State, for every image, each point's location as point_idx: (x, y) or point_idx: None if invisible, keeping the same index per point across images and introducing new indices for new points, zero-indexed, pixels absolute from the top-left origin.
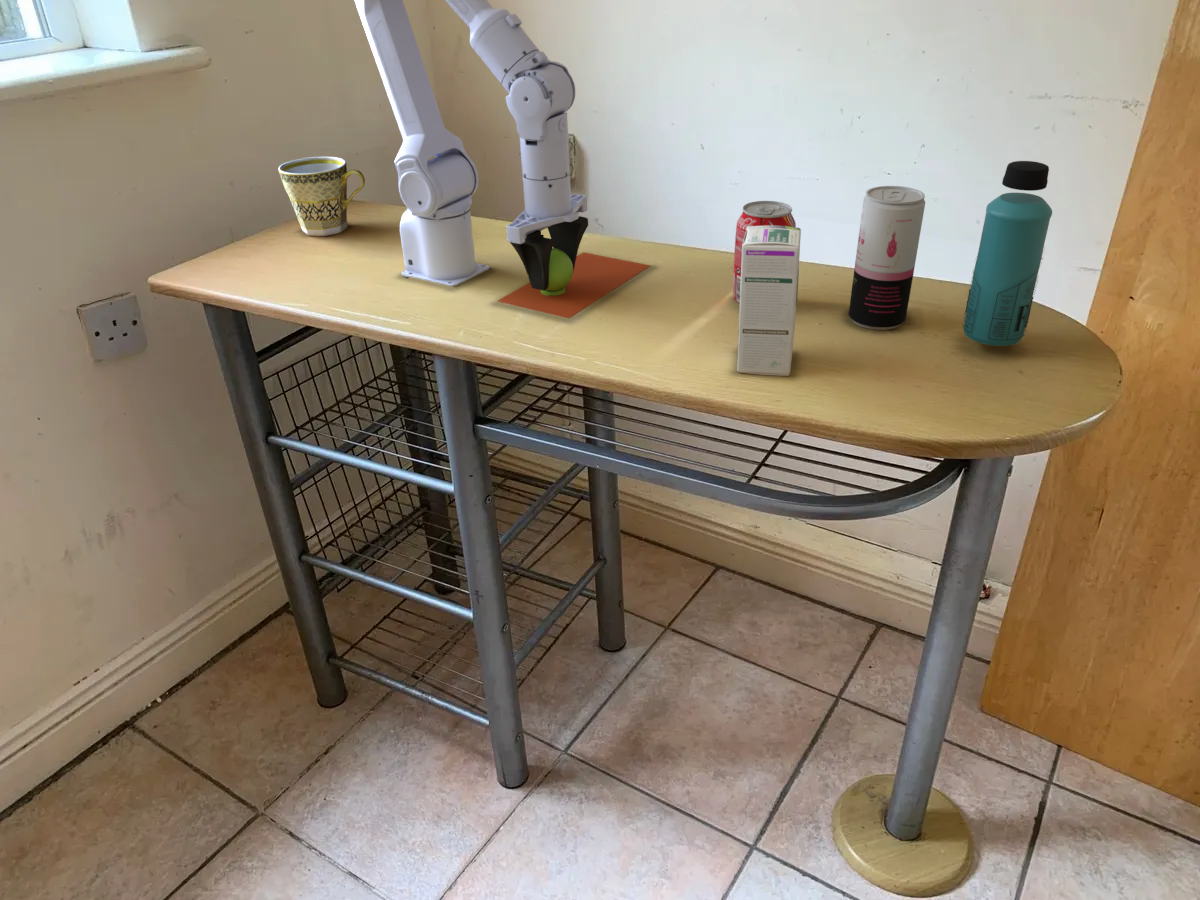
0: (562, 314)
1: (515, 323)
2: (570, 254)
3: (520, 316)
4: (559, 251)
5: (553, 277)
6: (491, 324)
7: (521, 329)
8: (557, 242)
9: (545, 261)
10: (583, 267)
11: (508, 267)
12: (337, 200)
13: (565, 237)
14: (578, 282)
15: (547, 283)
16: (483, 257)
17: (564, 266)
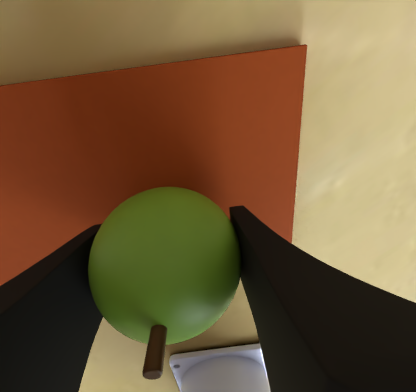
0: (291, 85)
1: (365, 167)
2: (67, 274)
3: (324, 185)
4: (133, 299)
5: (220, 213)
6: (386, 204)
7: (396, 129)
8: (72, 357)
9: (302, 260)
10: (12, 257)
11: (138, 344)
12: None
13: (27, 370)
14: (86, 206)
15: (239, 211)
16: (139, 382)
17: (168, 219)
